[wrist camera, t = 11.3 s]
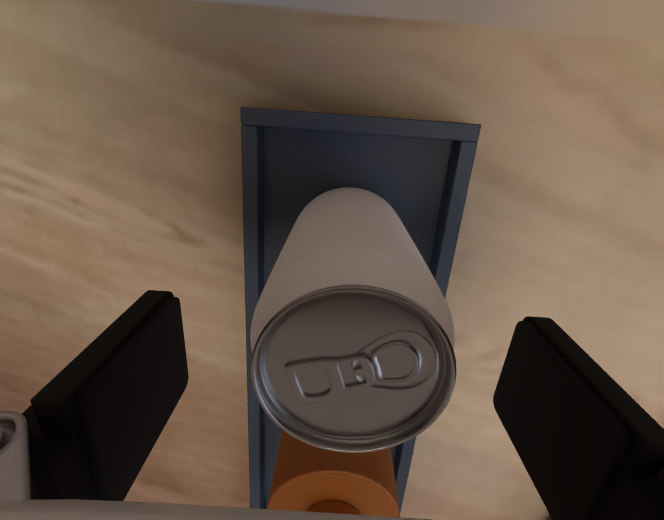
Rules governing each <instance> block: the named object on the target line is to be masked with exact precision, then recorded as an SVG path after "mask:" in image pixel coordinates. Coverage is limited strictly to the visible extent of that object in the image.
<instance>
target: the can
mask: <svg viewBox="0 0 664 520" xmlns="http://www.w3.org/2000/svg"><path fill="white" fill-rule="evenodd" d="M250 340H251V350H252V358H251V379H252V384H253V388H254V391H255V394H256V397H257V399H258V401H259V403H260V405H261V406H262V408H263V409H264V411H265V412H266V414H267V415H268V416H269V417H270V418H271V420H272V421H273V422H274V423H275V424H276V425H278V426H279V427H280V428H281V429H282V430H284V431H285V432H286V433H288V434H289V435H291V436H292V437H294V438H296V439H298V440H300V441H302V442H304V443H306V444H309V445H311V446H314V447H317V448H320V449H324V450H329V451H334V452H342V453H366V452H374V451H379V450H384V449H388V448H391V447H394V446H397V445H399V444H402V443H404V442H406V441H408V440H410V439H412V438H414V437H415V436H417V435H418V434H420V433H421V432H423V431H424V430H425V429H427V428H428V427H429V426H430V425H431V424H432V423H433V422H434V421H435V420H436V419H437V418H438V417H439V416H440V414H441V413H442V412H443V410H444V409H445V407H446V405H447V404H448V402H449V400H450V397H451V395H452V392H453V389H454V385H455V380H456V359H455V354H454V325H453V320H452V316H451V313H450V310H449V307H448V304H447V302H446V300H445V298H444V296H443V294H442V292H441V290H440V288H439V286H438V284H437V283H436V281H435V279H434V277H433V275H432V273H431V272H430V270H429V268H428V266H427V265H426V263H425V261H424V259H423V258H422V256H421V254H420V252H419V251H418V249H417V247H416V246H415V244H414V242H413V240H412V239H411V237H410V235H409V233H408V232H407V230H406V228H405V227H404V225H403V223H402V222H401V220H400V218H399V217H398V215H397V213H396V212H395V211H394V209H393V208H392V207H391V205H390V204H389V203H387V202H386V201H385V200H384V199H383V198H381V197H380V196H378V195H377V194H375V193H373V192H370V191H368V190H364V189H360V188H353V187H345V188H337V189H333V190H330V191H327V192H325V193H323V194H321V195H319V196H317V197H316V198H314V199H313V200H312V201H311V202H310V203H309V204H308V205H307V206H306V207H305V208H304V209H303V210H302V212H301V213H300V215H299V217H298V218H297V220H296V222H295V224H294V226H293V228H292V230H291V232H290V234H289V236H288V238H287V240H286V242H285V244H284V247H283V249H282V251H281V253H280V255H279V257H278V259H277V261H276V263H275V265H274V267H273V270H272V272H271V274H270V276H269V278H268V280H267V282H266V285H265V287H264V289H263V291H262V293H261V296H260V298H259V301H258V303H257V305H256V308H255V311H254V315H253V319H252V324H251V333H250Z"/></svg>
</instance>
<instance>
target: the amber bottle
mask: <svg viewBox="0 0 664 520" xmlns="http://www.w3.org/2000/svg"><path fill="white" fill-rule="evenodd" d="M267 509H274V510H291V511H307V512H323V513H338V514H354V515H369V516H385V517H400V512H399V504H398V497H397V490H396V483H395V476H394V469H393V462H392V455H391V448H388V449H384V450H379V451H374V452H366V453H342V452H334V451H329V450H324V449H320V448H317V447H314V446H311V445H309V444H306V443H304V442H302V441H300V440H298V439H296V438H294V437H292V436H291V435H289V434H288V433H286V432H285V431H284V430H282V434H281V439H280V444H279V449H278V454H277V459H276V464H275V469H274V474H273V479H272V484H271V490H270V495H269V500H268V505H267Z"/></svg>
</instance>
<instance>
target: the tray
mask: <svg viewBox="0 0 664 520" xmlns="http://www.w3.org/2000/svg"><path fill="white" fill-rule="evenodd" d="M241 124H242V125H241V144H242V185H243V226H244V267H245V309H246V350H247V391H248V432H249V473H250V508H257V509H267V505H268V500H269V495H270V490H271V484H272V479H273V474H274V469H275V464H276V459H277V454H278V449H279V444H280V439H281V434H282V429H281V428H280V427H279V426H278V425H276V424H275V423H274V422H273V421H272V420H271V418H270V417H269V416H268V415H267V414H266V412H265V411H264V409H263V408H262V406H261V405H260V403H259V401H258V399H257V397H256V394H255V391H254V388H253V384H252V379H251V358H252V350H251V340H250V333H251V324H252V319H253V315H254V311H255V308H256V305H257V303H258V301H259V298H260V296H261V293H262V291H263V289H264V287H265V285H266V282H267V280H268V278H269V276H270V274H271V272H272V270H273V267H274V265H275V263H276V261H277V259H278V257H279V255H280V253H281V251H282V249H283V247H284V244H285V242H286V240H287V238H288V236H289V234H290V232H291V230H292V228H293V226H294V224H295V222H296V220H297V218H298V217H299V215H300V213H301V212H302V210H303V209H304V208H305V207H306V206H307V205H308V204H309V203H310V202H311V201H312V200H313V199H314V198H316V197H317V196H319V195H321V194H323V193H325V192H327V191H330V190H333V189H337V188H345V187H353V188H360V189H364V190H368V191H370V192H373V193H375V194H377V195H378V196H380V197H381V198H383V199H384V200H385V201H386V202H387V203H389V204H390V205H391V207H392V208H393V209H394V211H395V212H396V213H397V215H398V217H399V218H400V220H401V222H402V223H403V225H404V227H405V228H406V230H407V232H408V233H409V235H410V237H411V239H412V240H413V242H414V244H415V246H416V247H417V249H418V251H419V252H420V254H421V256H422V258H423V259H424V261H425V263H426V265H427V266H428V268H429V270H430V272H431V273H432V275H433V277H434V279H435V281H436V283H437V284H438V286H439V288H440V290H441V292H442V294H443V296H444V298H445V296H446V291H447V286H448V281H449V276H450V272H451V267H452V262H453V257H454V252H455V248H456V243H457V238H458V233H459V228H460V224H461V219H462V214H463V209H464V205H465V200H466V195H467V190H468V185H469V181H470V176H471V171H472V166H473V161H474V157H475V152H476V147H477V141H478V138H479V133H480V128H481V125H480V124H468V123H454V122H440V121H427V120H413V119H400V118H386V117H372V116H359V115H345V114H332V113H318V112H304V111H291V110H277V109H263V108H250V107H241ZM415 440H416V436H415V437H414V438H412V439H410V440H408V441H406V442H404V443H402V444H399V445H397V446H394V447H391V455H392V462H393V469H394V476H395V483H396V490H397V497H398V504H399V512H401V507H402V502H403V497H404V492H405V488H406V483H407V478H408V473H409V468H410V464H411V459H412V454H413V449H414V444H415Z"/></svg>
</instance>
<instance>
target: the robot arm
mask: <svg viewBox="0 0 664 520" xmlns="http://www.w3.org/2000/svg"><path fill="white" fill-rule="evenodd" d="M187 383H188V368H187V359H186V350H185V342H184V333H183V324H182V315H181V307H180V300H179V298H177V297H174V295H173V294H172V292H169V291H155V290H148V291H147V292H145V293H144V294H143V295H142V296H141V297H140V298H139V299H138V300H137V301H136V302H135V303H134V304H133V305H131V306H130V307H129V308H128V309H127V310H126V311H125V312H124V313H123V314H122V315H121V316H120V317H119V318H118V319H116V320H115V321H114V322H113V323H112V324H111V325H110V326H109V327H108V328H107V329H106V330H105V331H104V332H103V333H102V334H100V335H99V336H98V337H97V338H96V339H95V340H94V341H93V342H92V343H91V344H90V345H89V346H88V347H87V348H85V349H84V350H83V351H82V352H81V353H80V354H79V355H78V356H77V357H76V358H75V359H74V360H73V361H72V362H70V363H69V364H68V365H67V366H66V367H65V368H64V369H63V370H62V371H61V372H60V373H59V374H58V375H57V376H56V377H54V378H53V379H52V380H51V381H50V382H49V383H48V384H47V385H46V386H45V387H44V388H43V389H42V390H41V391H39V392H38V393H37V394H36V395H35V396H34V397H33V398H32V399H31V400H30V401H31V404H32V405H31V406H30V407H29V408H28V409H27V410H25V411H24V412H23V413H22V414H20V413H19V412H15V411H8V410H4V411H0V520H430V519H415V518H400V517H385V516H369V515H354V514H338V513H323V512H307V511H291V510H274V509H257V508H240V507H223V506H206V505H189V504H172V503H152V502H128V501H123V500H124V499H125V497H126V495H127V493H128V491H129V490H130V488H131V486H132V484H133V482H134V481H135V479H136V477H137V475H138V473H139V472H140V470H141V468H142V466H143V464H144V463H145V461H146V459H147V457H148V455H149V454H150V452H151V450H152V448H153V446H154V444H155V443H156V441H157V439H158V437H159V435H160V434H161V432H162V430H163V428H164V426H165V425H166V423H167V421H168V419H169V417H170V416H171V414H172V412H173V410H174V408H175V407H176V405H177V403H178V401H179V399H180V398H181V396H182V394H183V392H184V390H185V388H186V386H187ZM493 402H494V408H495V410H496V412H497V414H498V416H499V418H500V420H501V422H502V424H503V426H504V427H505V429H506V431H507V433H508V435H509V437H510V439H511V441H512V443H513V445H514V447H515V449H516V451H517V452H518V454H519V456H520V458H521V460H522V462H523V464H524V466H525V468H526V470H527V472H528V474H529V476H530V477H531V479H532V481H533V483H534V485H535V487H536V489H537V491H538V493H539V495H540V497H541V499H542V501H543V502H544V504H545V506H546V508H547V510H548V512H549V514H550V516H551V518H552V520H664V429H663V428H662V427H661V426H660V425H659V424H658V423H657V422H656V421H655V420H654V419H653V418H652V417H651V416H650V415H649V414H648V413H647V412H646V411H645V410H644V409H643V408H642V407H641V406H640V405H639V404H638V403H637V402H636V401H635V400H633V399H632V398H631V397H630V396H629V395H628V394H627V393H626V392H625V391H624V390H623V389H622V388H621V387H620V386H619V385H618V384H617V383H616V382H615V381H614V380H613V379H612V378H611V377H610V376H609V375H608V374H607V373H606V372H605V371H604V370H603V369H602V368H601V367H600V366H599V365H598V364H597V363H596V362H595V361H594V360H593V359H592V358H591V357H590V356H589V355H588V354H587V353H586V352H585V351H584V350H583V349H582V348H581V347H580V346H579V345H578V344H577V343H576V342H575V341H574V340H572V339H571V338H570V337H569V336H568V335H567V334H566V333H565V332H564V331H563V330H562V329H561V328H560V327H559V326H558V325H557V324H556V323H555V322H554V321H553V320H552V319H550V318H543V317H529V316H528V317H525V318H524V319H523V321H520V322H518V323H517V325H516V327H515V331H514V334H513V337H512V340H511V343H510V346H509V349H508V353H507V356H506V359H505V362H504V365H503V368H502V371H501V374H500V378H499V381H498V384H497V387H496V390H495V393H494V397H493Z"/></svg>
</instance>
